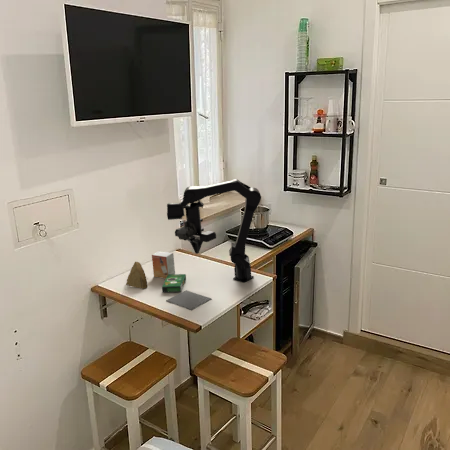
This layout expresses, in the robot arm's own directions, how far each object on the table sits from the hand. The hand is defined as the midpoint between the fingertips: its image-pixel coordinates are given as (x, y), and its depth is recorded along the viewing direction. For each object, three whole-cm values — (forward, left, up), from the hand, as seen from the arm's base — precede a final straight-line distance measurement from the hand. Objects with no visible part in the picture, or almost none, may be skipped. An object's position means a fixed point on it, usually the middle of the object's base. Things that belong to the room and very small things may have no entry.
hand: (197, 253), depth 200 cm
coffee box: (+2, +15, -11) cm, 19 cm away
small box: (+18, +4, -13) cm, 23 cm away
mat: (-9, +16, -13) cm, 22 cm away
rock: (+20, +18, -13) cm, 30 cm away
